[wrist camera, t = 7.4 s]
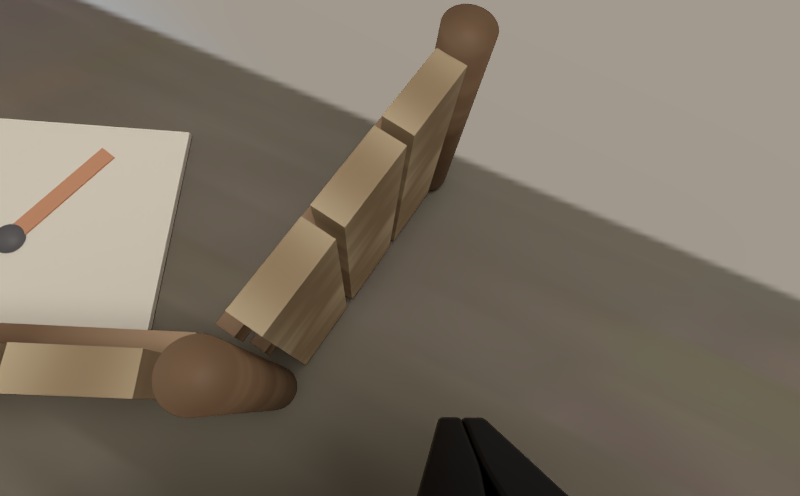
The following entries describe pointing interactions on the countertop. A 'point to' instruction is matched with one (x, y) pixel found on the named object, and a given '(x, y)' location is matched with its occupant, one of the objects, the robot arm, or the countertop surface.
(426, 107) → the fence panel
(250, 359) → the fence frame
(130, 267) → the card
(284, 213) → the countertop surface
